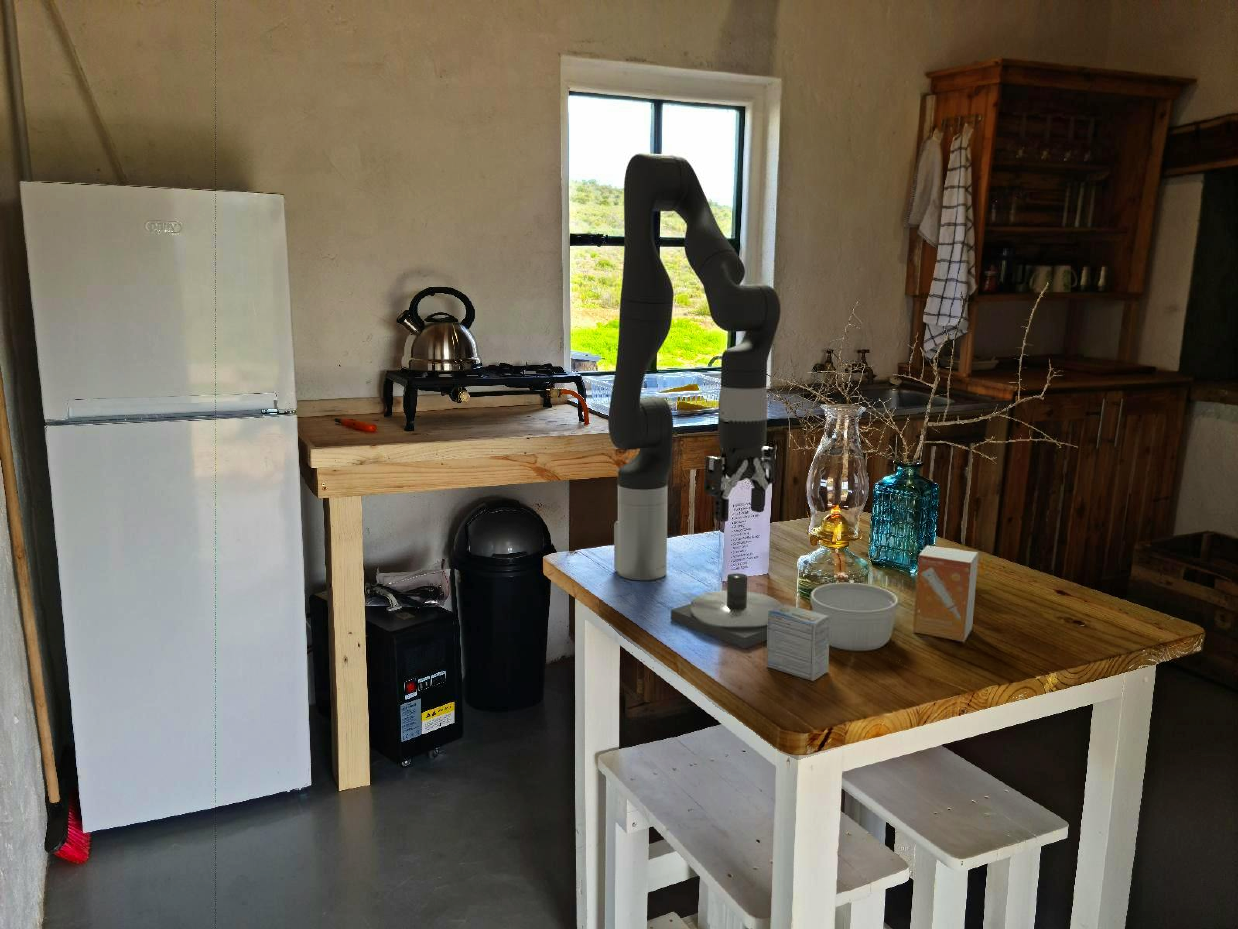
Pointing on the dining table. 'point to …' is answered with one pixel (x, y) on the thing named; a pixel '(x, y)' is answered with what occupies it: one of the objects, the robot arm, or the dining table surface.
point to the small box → (945, 592)
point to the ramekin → (856, 614)
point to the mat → (719, 629)
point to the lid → (733, 606)
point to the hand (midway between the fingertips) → (739, 516)
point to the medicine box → (798, 641)
